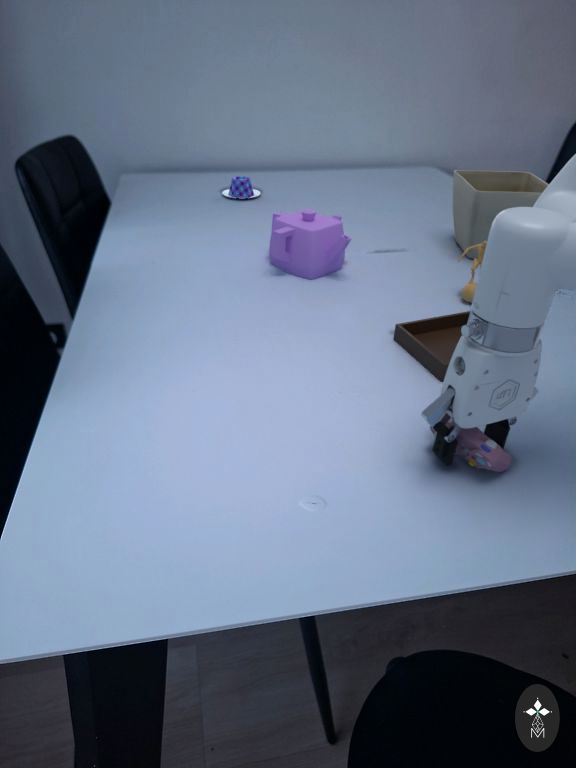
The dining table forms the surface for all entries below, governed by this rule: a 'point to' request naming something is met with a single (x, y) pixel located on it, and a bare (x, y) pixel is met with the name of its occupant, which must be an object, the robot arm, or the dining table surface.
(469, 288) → the figurine
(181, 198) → the dining table surface
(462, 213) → the flower pot
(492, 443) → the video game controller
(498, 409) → the robot arm
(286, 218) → the teakettle
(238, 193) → the pudding
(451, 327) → the tray
